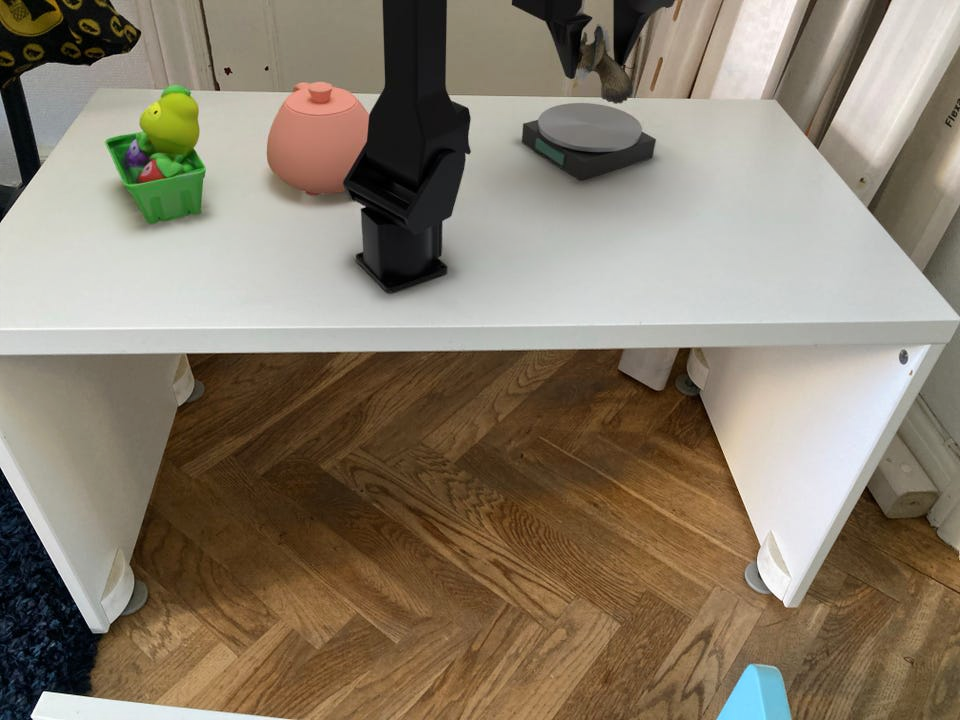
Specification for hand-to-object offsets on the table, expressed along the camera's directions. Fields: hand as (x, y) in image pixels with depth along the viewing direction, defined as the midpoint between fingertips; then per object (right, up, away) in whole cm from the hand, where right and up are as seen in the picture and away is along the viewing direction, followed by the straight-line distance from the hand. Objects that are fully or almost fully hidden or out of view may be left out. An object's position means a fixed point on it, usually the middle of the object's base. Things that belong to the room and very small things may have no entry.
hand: (594, 71), depth 85 cm
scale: (+1, -5, +12) cm, 13 cm away
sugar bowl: (-29, -10, +5) cm, 31 cm away
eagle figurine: (0, -1, +1) cm, 2 cm away
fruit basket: (-44, -13, -1) cm, 46 cm away
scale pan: (+1, -3, +10) cm, 10 cm away
